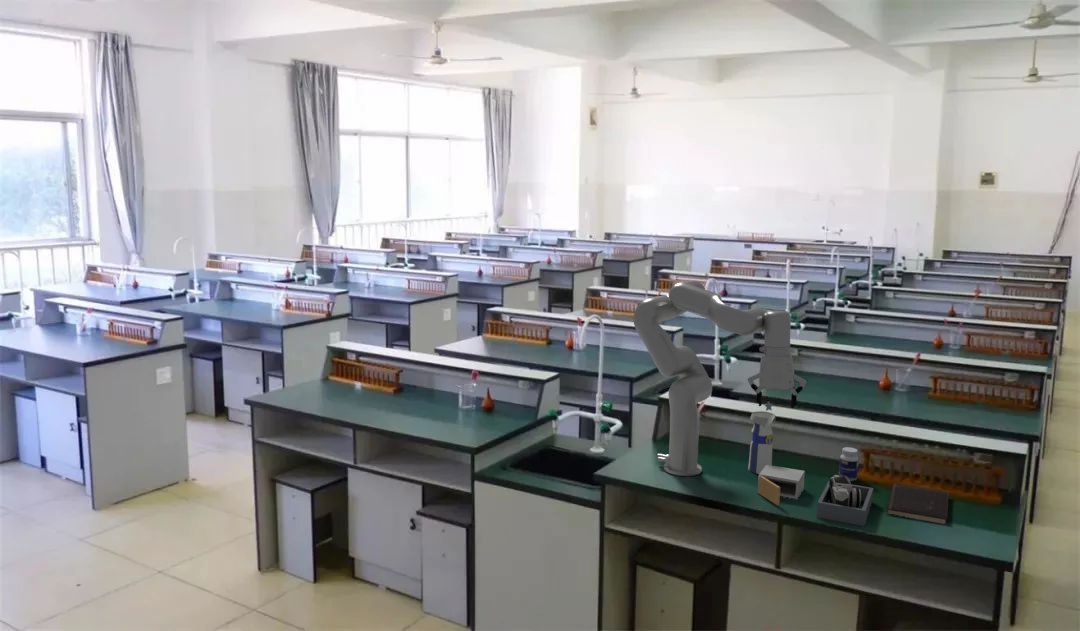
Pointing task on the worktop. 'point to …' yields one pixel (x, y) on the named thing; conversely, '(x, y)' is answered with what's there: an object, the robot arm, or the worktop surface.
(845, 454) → the pill bottle
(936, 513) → the hardcover book
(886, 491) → the worktop surface
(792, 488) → the box
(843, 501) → the camera
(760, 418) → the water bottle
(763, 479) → the side door
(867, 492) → the box
